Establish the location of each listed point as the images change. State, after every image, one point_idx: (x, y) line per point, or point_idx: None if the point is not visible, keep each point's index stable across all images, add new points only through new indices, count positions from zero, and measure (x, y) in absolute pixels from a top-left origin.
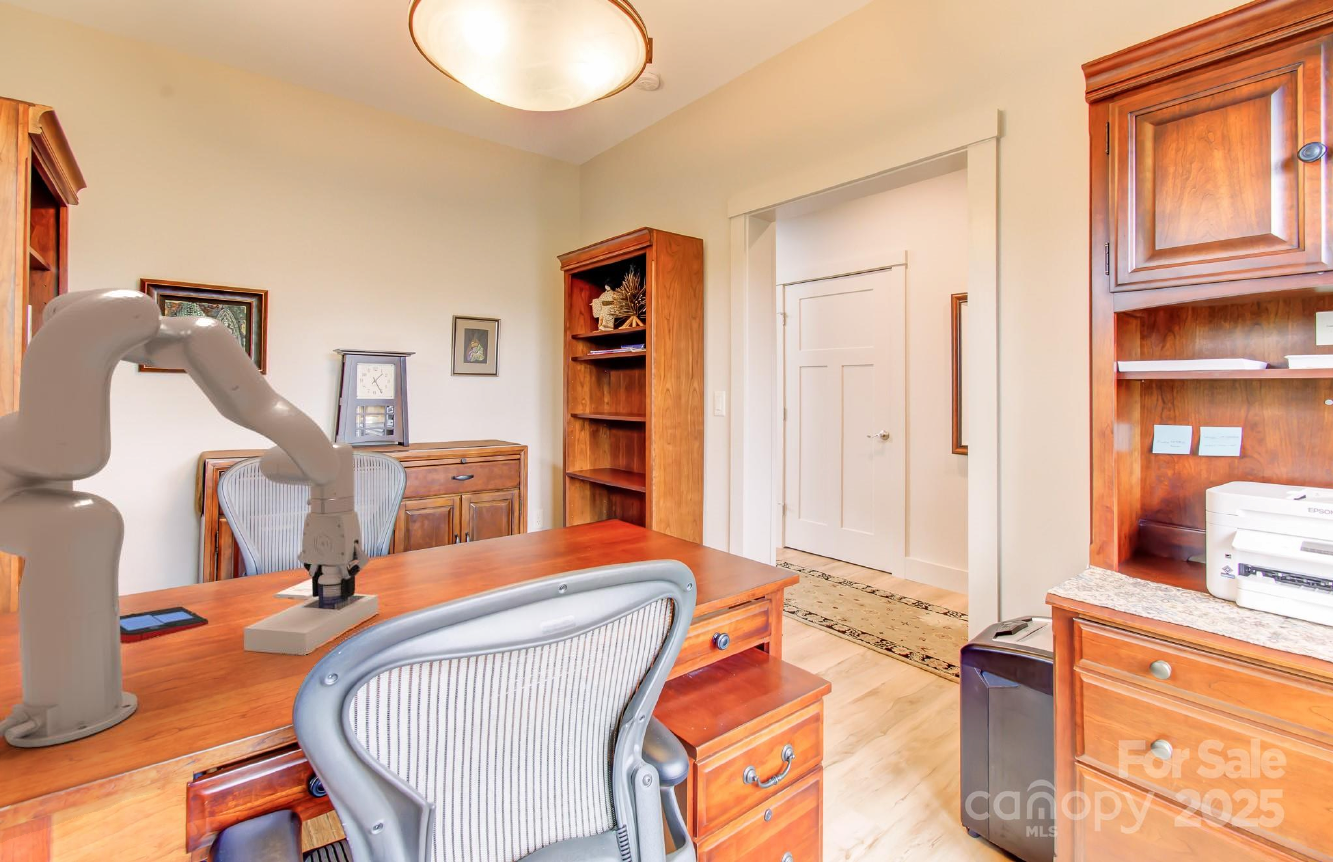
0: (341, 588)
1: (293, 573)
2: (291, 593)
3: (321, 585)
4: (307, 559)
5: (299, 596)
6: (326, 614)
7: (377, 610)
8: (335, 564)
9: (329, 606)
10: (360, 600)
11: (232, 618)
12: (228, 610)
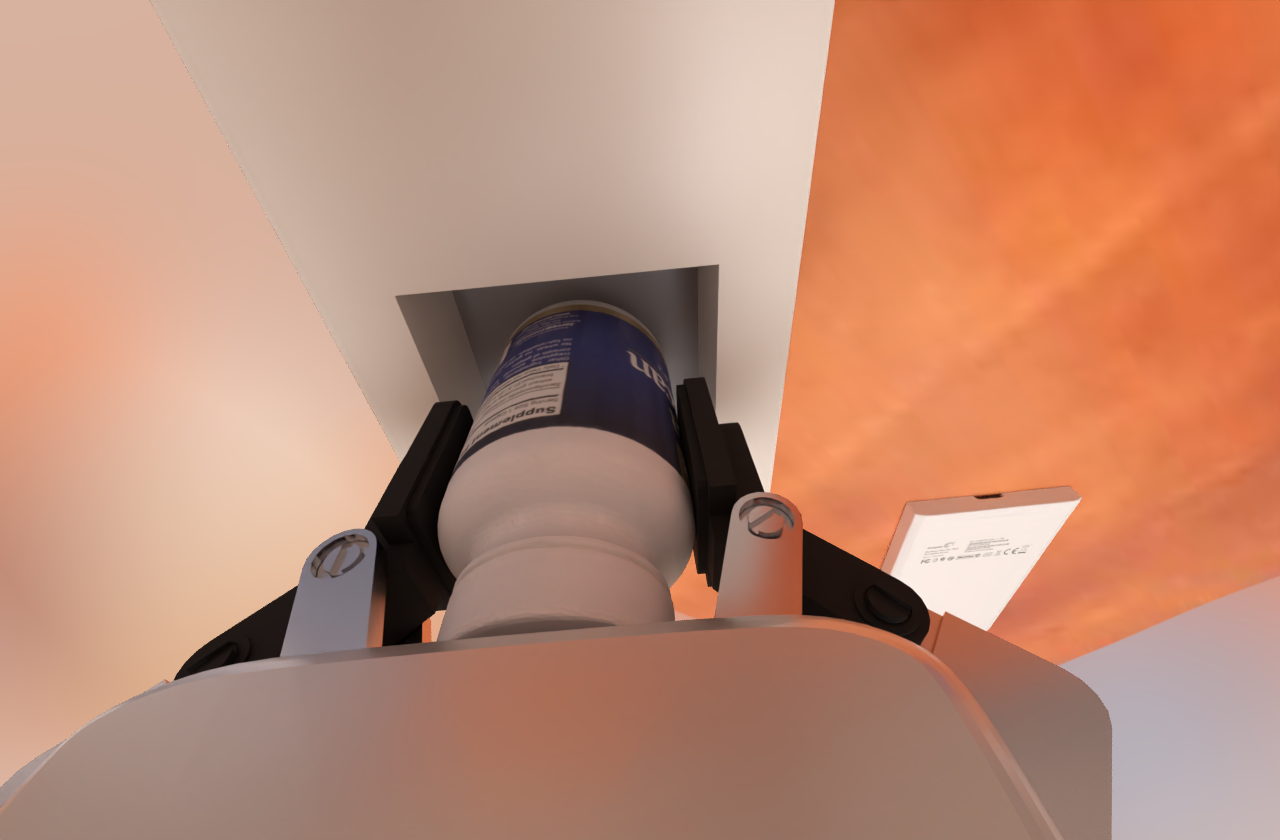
0: (429, 451)
1: (1088, 638)
2: (1002, 517)
3: (582, 419)
4: (830, 685)
5: (952, 508)
6: (374, 175)
7: None
8: (268, 667)
9: (533, 335)
10: None
11: (1199, 231)
12: (1255, 321)
